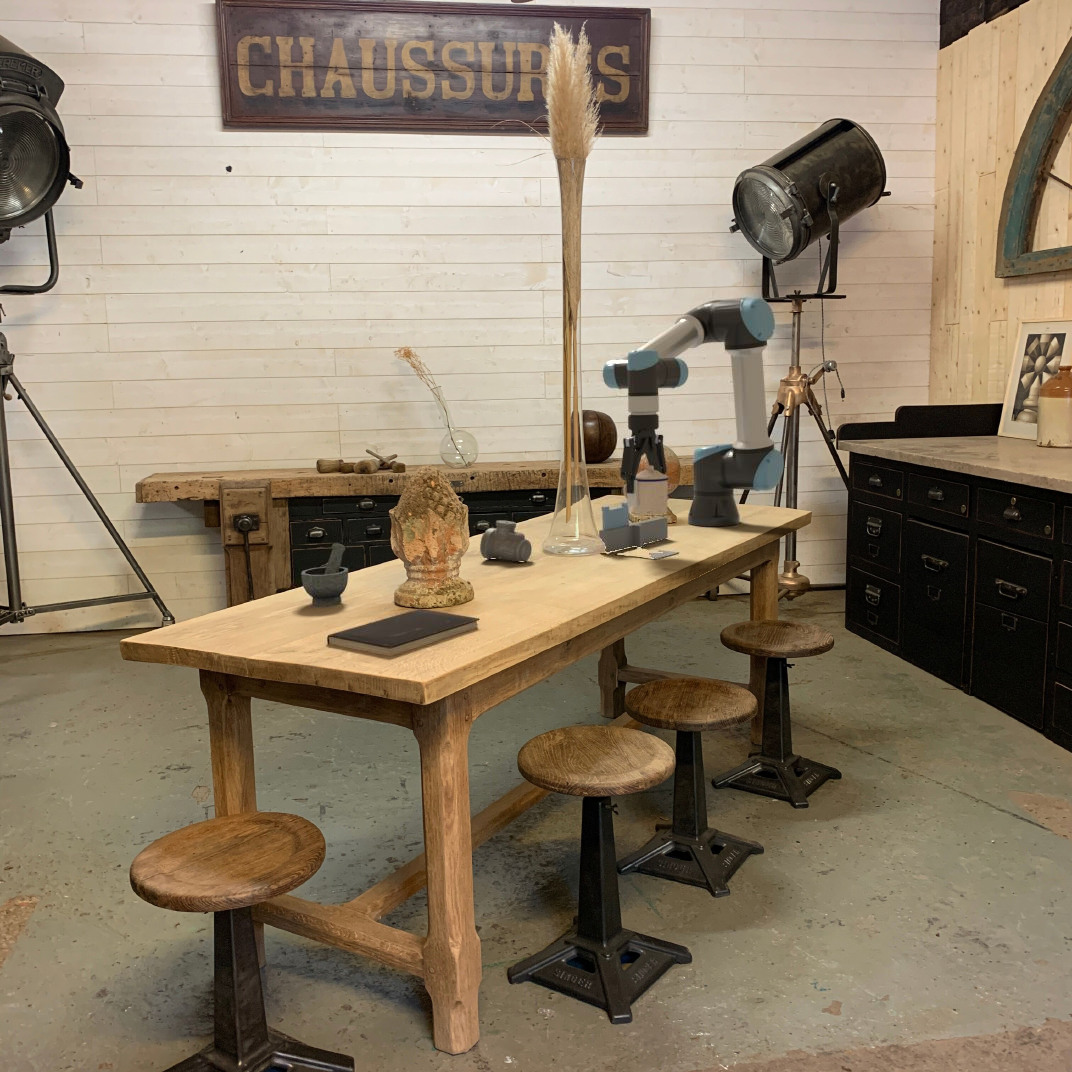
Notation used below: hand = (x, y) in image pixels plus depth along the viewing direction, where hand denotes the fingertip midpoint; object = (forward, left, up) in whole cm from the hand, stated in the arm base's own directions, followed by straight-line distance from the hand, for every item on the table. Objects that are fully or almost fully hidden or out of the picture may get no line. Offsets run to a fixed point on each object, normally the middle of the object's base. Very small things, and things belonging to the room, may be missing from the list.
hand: (644, 504), depth 258 cm
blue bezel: (-1, -10, -7) cm, 12 cm away
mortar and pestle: (+80, -24, -13) cm, 84 cm away
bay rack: (-9, -2, -13) cm, 16 cm away
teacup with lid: (0, 0, -2) cm, 2 cm away
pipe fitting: (+25, -24, -13) cm, 37 cm away
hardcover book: (+89, +10, -14) cm, 90 cm away
